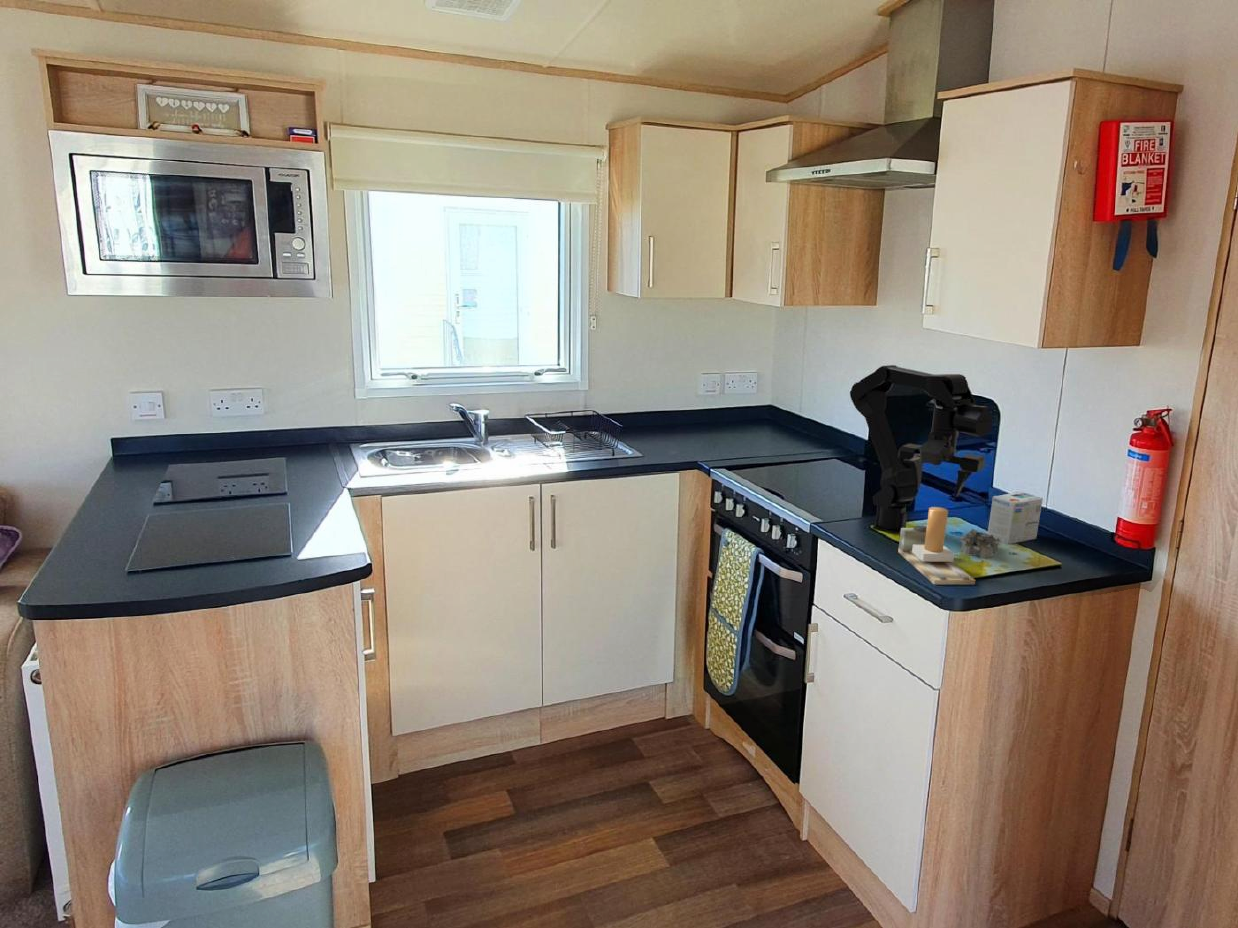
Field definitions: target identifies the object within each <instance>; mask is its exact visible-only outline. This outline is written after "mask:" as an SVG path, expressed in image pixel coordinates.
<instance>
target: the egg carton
mask: <svg viewBox="0 0 1238 928" xmlns="http://www.w3.org/2000/svg"><path fill="white" fill-rule="evenodd" d="M960 542H961V548H960V552H961V553H964V554H965V555H967V556H969V555H975V556H979V558H982V559H987V558H988V559H989V558H990V559H991V558H992V556H993V555H995V552H996V551H997V550H999V547H998V546H999V543H1001V541H1000V538H999V537H998V538H994V537H993V535H988V532H987V533H986V532H983V531H981V532H980V531H978V530H977V529H976V530H975V529H974V528H972V529H970V531H969V532H967V533H966V534H965V535H964V536H962V537H960ZM974 544H976V545H974Z"/></svg>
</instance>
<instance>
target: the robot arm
mask: <svg viewBox="0 0 1238 928" xmlns="http://www.w3.org/2000/svg"><path fill="white" fill-rule="evenodd" d="M894 384H895V385H900V386H904V387H906V388H907V387H908V388H913V389H916V390H921V391H923V392H925V393H926V394H927V395H928V396H929V397H932V399H931V400H930V401H929V402H927V403H926V406H927V407H931V408H934V409H933V415H932V417H933V418H932V423H931V424H932V425H931V431H930V432H929V433H928V438H927V440H926V441H925V442H924V443H923V445H920V444H914V443H907V444H904V445H901V447H899V449H898V448H897V444H896V442H895V439H894V436H893V433H892V430H891V427H890V424H889V422H888V421H889V420H888V419H887V415H886V412H885V410H886V407H887V406H886V404H887V401H888V399H887V395H886V394H887V393H889V391H891V390H892V389H893V385H894ZM849 396H850V400H851V402H852V404H853V405H854V408H855V409H856V411H857V412H859V413H860V415H862V416H863V417H864V419H865V422H866V425H867V427H868V431H869V435H870V437H871V440H872V443H873V446H874V448H875V451H876V455H877V457H878V460H879V463H880V466H881V470H882V471H881V472H882V473H881V477H880V482H879V483H880V487H881V489H880V490H879V491H877V492H876V493H875V494H874V495H872V504H873V505H874V506H876V516H875V517H876V518H875V524H874V525H872V528H873V529H875V530H879V531H884V532H887V533H892V534H899V533H901V528H907V522H908V521H907V519H908V512H906V510H907V506H911V505H912V503H913V501H914V500H915V498H916V497H917V495H918V493H919V489H920V487H921V482H922V476H923V475H922V474H923V469H924V468H923V467H924V464H931V465H933V466H940V465H941V464H942V463H943V462H944V463H949V464H954V465H959V467H960V468H959V469H958V470H957V479H956V483H955V484H956V485H955V488H954V498H955V497H956V498H957V497H958V496H959V495H960V492H961V491H962V489H963V487H964V485H965V484H966V482H967V481H968V479H969V478H970V477H971V476H972V475H973V474H975V473H978V472H979V471H982V470H984V469H985V467H986V459H985V457H984V455H983V456H982V455H976V454H971V453H967V454H965V455H963V456H958V455H956V454H957V451H958V450H957V449H956V447H957V441H958V440H957V438H959V435H960V433H962V434H963V433H964V434H967V435H971V436H975V437H979V438H984V437H986V436H987V435H988V434H989V433H990V431H991V430H992V427H993V418H992V415H991V413H989V407H988V406H986V405H977V403H976V400H975V397H974V396H973V394H972V391H971V389H970V387H969V383H968V380H967V378H966V376H964V374H958V373H956V374H955V373H954V374H953V373H951V374H950V373H948V374H947V373H946V374H941V373H939V374H935V373H933V374H932V373H928V372H923V371H918V370H914V369H909V368H905V367H900V366H897V365H895V364H892V365H891V364H890V365H888V364H887V365H882V366H879V367H878V368H876V370H874V372H872V373H870V374H868V375H867V376H865V377H863V378H862V379H860V380H859V381H858V382H855V383H854V384H853V385H852V387H851V390H850V391H849ZM901 459H902V460H903V461H902V460H901ZM902 462H904V463H906V464H907V465H908V466H909V467H910V468H909V469H908V468H906V467H905V466H904V464H903V463H902Z"/></svg>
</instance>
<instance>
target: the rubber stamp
mask: <svg viewBox="0 0 1238 928" xmlns="http://www.w3.org/2000/svg"><path fill="white" fill-rule="evenodd" d="M927 514H928V516H927V522H926V527H927V529H926V536H925V544H924V545H913V547H912V553H914V554H915V555H916V556H917V557H918V558H919V559H921V560H922V561H923V562H954V559H955V553H954V552H953V551H952V550H951V549H948V547H946V546H945V545H944V544H945V538H946V537H945V536H946V529H947V522H948V516H949V515H948V514H949V510H948V509H946V508H943V507H939V506H931V507H929V508H928V513H927Z"/></svg>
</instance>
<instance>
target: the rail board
mask: <svg viewBox="0 0 1238 928" xmlns="http://www.w3.org/2000/svg"><path fill="white" fill-rule="evenodd" d="M926 529H927V525H926V526H925V525H914V526H913V527H906V528H901V531H900V532H899V533H900V535H899V543H898V551H897V552H898V553H899V554H900V555H901V556H902V557H903V558H904V559H905V560H906V561H907V562H908V563H910V565H912V566H913V567H914V568H915V569H916V570H917V571H918V572H920V573H921V574H922V575H923V576H924V577H925V578H926V579H928V580H929V581H930V582H931V583H932V584H933V585H975V584H976V579H975V578H973V577H972V576H971V575H970V574H969V573H967V572H966V571H965V570H963V569H962V568H961V567H960V566H959V565H957V564H956V563H955V562H954V561H953V562H923V561H922V560H921V559H919V558H918V557H917V556H916V555H915V554H914V553H912V547H913V545H924V544H925V536H926Z"/></svg>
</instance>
